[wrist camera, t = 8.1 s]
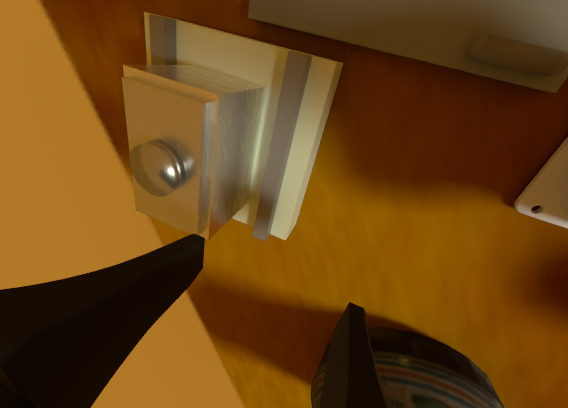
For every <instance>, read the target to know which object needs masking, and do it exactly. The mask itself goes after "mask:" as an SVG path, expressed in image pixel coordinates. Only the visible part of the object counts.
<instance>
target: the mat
mask: <svg viewBox="0 0 568 408" xmlns="http://www.w3.org/2000/svg"><path fill="white" fill-rule="evenodd" d="M248 18H250V19H253V20H257V21H261V22H265V23H269V24H273V25H277V26H281V27H285V28H289V29H293V30H297V31H301V32H305V33H309V34H314V35H318V36H322V37H326V38H330V39H334V40H338V41H342V42H346V43H350V44H354V45H358V46H362V47H366V48H370V49H374V50H378V51H382V52H386V53H390V54H395V55H399V56H403V57H407V58H411V59H415V60H419V61H423V62H427V63H431V64H435V65H439V66H443V67H447V68H451V69H455V70H459V71H463V72H467V73H472V74H476V75H480V76H484V77H488V78H492V79H496V80H500V81H504V82H508V83H512V84H516V85H520V86H524V87H528V88H532V89H536V90H540V91H544V92H550V93H556V92H557V91H558V89H559V88H560V87H561V85H562V84H563V83H564V81H565V80H566V78H567V77H568V0H250V1H249V9H248Z"/></svg>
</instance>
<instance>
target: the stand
mask: <svg viewBox="0 0 568 408" xmlns="http://www.w3.org/2000/svg"><path fill="white" fill-rule="evenodd" d="M144 21H145V38H146V55H147V65H195V66H198V67H201V68H205V69H208V70H212V71H215V72H218V73H222V74H225V75H228V76H232V77H235V78H239V79H242V80H245V81H249V82H252V83H255V84H259V85H262V86H265V87H267V90H266V96H265V102H264V108H263V114H262V120H261V126H260V133H259V139H258V145H257V151H256V157H255V163H254V169H253V175H252V181H251V187H250V193H249V199H248V203H247V204H246V205H245V206H244V207H243V208H242V209H241V210H239V211H238V212H237V213H236V214H235V215H234V216H233V217H232V218H233V219H235V220H238V221H240V222H243V223H245V224H247V225H250V226H252V227H254V230H253V237H256V238H258V239H261V240H263V241H265V240H266V239H267V237H268V236H269V235H270V234H271V235H274V236H276V237H279V238H281V239H284V240H286V239H287V238H288V236H289V234H290V233H291V231H292V229H293V228H294V226H295V224H296V222H297V218H298V215H299V212H300V208H301V205H302V202H303V198H304V195H305V192H306V188H307V185H308V182H309V178H310V175H311V172H312V168H313V165H314V161H315V158H316V155H317V151H318V148H319V145H320V141H321V138H322V135H323V131H324V128H325V125H326V121H327V118H328V115H329V111H330V108H331V105H332V101H333V98H334V95H335V91H336V88H337V85H338V81H339V78H340V75H341V71H342V68H343V65H344V63H342V62H338V61H334V60H330V59H327V58H323V57H319V56H315V55H311V54H308V53H304V52H300V51H296V50H292V49H289V48H285V47H281V46H277V45H273V44H270V43H266V42H262V41H258V40H254V39H251V38H247V37H243V36H239V35H235V34H232V33H228V32H224V31H220V30H216V29H213V28H209V27H205V26H201V25H197V24H194V23H190V22H186V21H182V20H178V19H175V18H170V17H166V16H161V15H157V14H152V13H147V12H144Z"/></svg>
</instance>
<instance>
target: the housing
mask: <svg viewBox="0 0 568 408" xmlns="http://www.w3.org/2000/svg"><path fill="white" fill-rule="evenodd" d="M123 71H124V77H121V78H122V87H123V96H124V105H125V114H126V123H127V133H128V142H129V151H130V155H129V165H130V169H131V172H132V178H133V188H134V197H135V206H136V210H137V211H139V212H142V213H144V214H146V215H148V216H151V217H153V218H155V219H157V220H160V221H162V222H164V223H166V224H169V225H171V226H173V227H175V228H178V229H180V230H182V231H184V232H187V233H189V234H194V233H195V234H197V235H199V236H201V237H204V238H205V239H206V240H209V239H210V238H211V237H212V236H213V235H214V234H215V233H216V232H217V231H218V230H220V229H221V228H222V227H223V226H224V225H225V224H226V223H227V222H228V221H229V220H230V219H231V218H232V217H233V216H234V215H235V214H236V213H237V212H238V211H239V210H241V209H242V208H243V207H244V206H245V205H246V204H247V203H248V199H249V193H250V187H251V181H252V175H253V169H254V163H255V157H256V151H257V145H258V139H259V133H260V126H261V120H262V114H263V108H264V102H265V96H266V90H267V87H265V86H262V85H259V84H255V83H252V82H249V81H245V80H242V79H239V78H235V77H232V76H228V75H225V74H222V73H218V72H215V71H212V70H208V69H205V68H201V67H198V66H195V65H123Z"/></svg>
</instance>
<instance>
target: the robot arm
mask: <svg viewBox="0 0 568 408" xmlns="http://www.w3.org/2000/svg"><path fill="white" fill-rule="evenodd" d="M537 205H538V206H540V207H539V209H537V210H534V211H533V210H531V209H532V207H534V206H537ZM514 207H515V209H516V210H517V211H518V212H520V213H522V214H525V215H528V216H531V217H534V218H537V219H540V220H543V221H546V222H549V223H552V224H555V225H558V226H561V227H564V228H567V229H568V137H567V138H566V139H565V141H564V142H563V143H562V144H561V145H560V147H559V148H558V149H557V150H556V152H555V153H554V154H553V155H552V156H551V158H550V159H549V160H548V161H547V163H546V164H545V165H544V166H543V168H542V169H541V170H540V171H539V172H538V174H537V175H536V176H535V177H534V179H533V180H532V181H531V182H530V183H529V185H528V186H527V187H526V188H525V190H524V191H523V192H522V193H521V195H520V196H519V197H518V198H517V199H516V201H515V203H514ZM204 242H205V238H204V237H201V236H199V235H197V234H195V233H194V234H191V235H189V236H186V237H184V238H182V239H180V240H177V241H175V242H173V243H170V244H168V245H166V246H164V247H161V248H159V249H156V250H154V251H152V252H149V253H147V254H145V255H142V256H139V257H136V258H134V259H131V260H128V261H126V262H123V263H120V264H117V265H114V266H111V267H107V268H104V269H101V270H97V271H94V272H90V273H86V274H83V275H78V276H74V277H70V278H66V279H61V280H56V281H51V282H47V283H41V284H36V285H30V286H24V287H18V288H10V289H3V290H0V408H91V406H92V405H93V403H94V402H95V400H96V399H97V398H98V396H99V395H100V393H101V392H102V390H103V389H104V387H105V386H106V385H107V384H108V382H109V381H110V379H111V378H112V377H113V375H114V374H115V372H116V371H117V370H118V368H119V367H120V366H121V364H122V363H123V362H124V360H125V359H126V358H127V356H128V355H129V354H130V352H131V351H132V350H133V349H134V347H135V346H136V345H137V343H138V342H139V341H140V340H141V338H142V337H143V336H144V335H145V333H146V332H147V331H148V330H149V328H150V327H151V326H152V325H153V324H154V323H155V322H156V321H157V320H158V318H160V317H161V315H162V314H163V313H164V312H165V311H166V310H167V309H168V308H169V307H170V306H171V305H172V304H173V303H174V302H175V301H176V300H177V299H178V298H179V297H180V295H181V294H182V293H183V292H184V291H185V290H186V289H187V288H188V287H189V286H190V285H191V283H192V282H193V281H194V279H195V278H196V277H197V275H198V274H199V272H200V271H201V270H202V268H203V257H204ZM320 408H388V407H387V404H386V401H385V397H384V394H383V391H382V388H381V384H380V381H379V377H378V373H377V370H376V366H375V362H374V357H373V353H372V349H371V344H370V339H369V334H368V329H367V323H366V315H365V310H364V308H362V307H360V306H357V305H355V304H353V303H350V302H349V304H348V306H347V308H346V310H345V311H344V313H343V315H342V317H341V319H340V321H339V322H338V324H337V326H336V328H335V330H334V333H333V337H332V341H331V345H330V348H329V352H328V358H327V364H326V370H325V377H324V383H323V390H322V396H321V403H320Z"/></svg>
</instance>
